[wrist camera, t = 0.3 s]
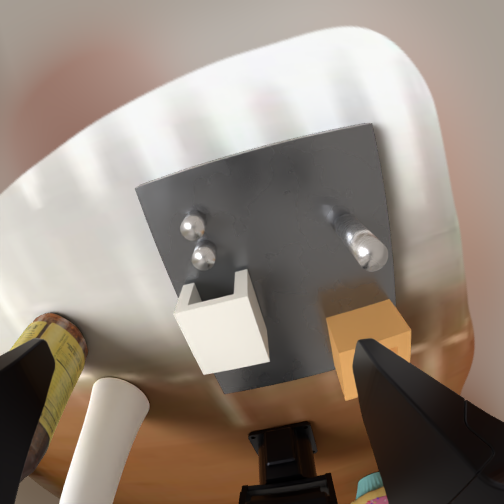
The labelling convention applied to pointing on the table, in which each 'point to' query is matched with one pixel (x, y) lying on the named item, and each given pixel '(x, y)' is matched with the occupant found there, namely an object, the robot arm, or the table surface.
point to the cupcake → (371, 490)
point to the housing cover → (224, 327)
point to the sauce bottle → (54, 377)
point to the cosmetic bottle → (104, 442)
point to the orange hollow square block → (366, 337)
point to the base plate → (281, 240)
